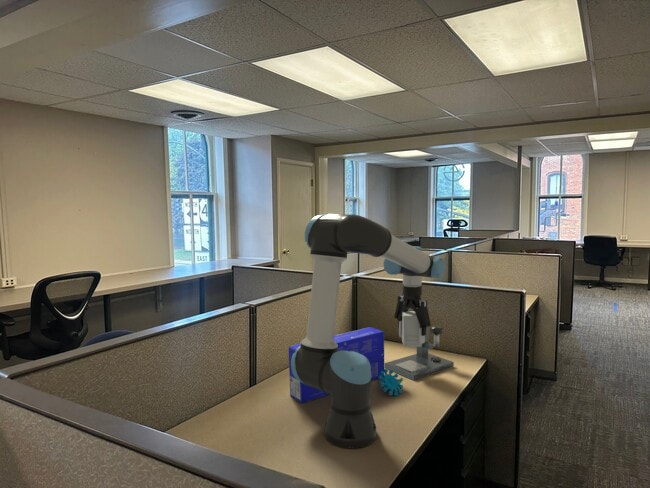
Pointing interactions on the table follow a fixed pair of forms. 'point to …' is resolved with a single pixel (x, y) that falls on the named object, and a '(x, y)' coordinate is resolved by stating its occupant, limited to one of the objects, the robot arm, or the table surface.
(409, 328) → the supplement box
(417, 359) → the plate
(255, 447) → the table surface
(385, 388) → the gear
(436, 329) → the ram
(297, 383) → the toner cartridge box
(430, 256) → the robot arm
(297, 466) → the table surface
